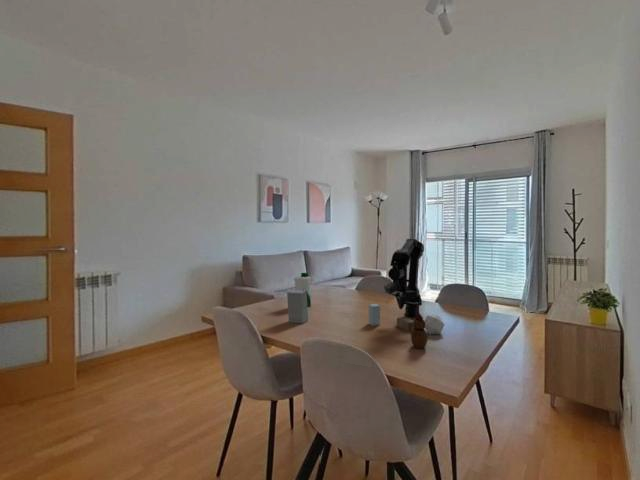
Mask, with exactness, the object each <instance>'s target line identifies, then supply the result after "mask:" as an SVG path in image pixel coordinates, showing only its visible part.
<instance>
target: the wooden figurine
mask: <svg viewBox="0 0 640 480" xmlns="http://www.w3.org/2000/svg"><path fill="white" fill-rule="evenodd" d="M413 321H414V322H413V326H414V328H413V329H412V331H410V332H411V333H410V338H411V344H412V346H413V347H415V348H416V349H424V348H426V346H427V343H428V332H427V330H426V329H425V319H424V318H423V316H422V314H420V310H419V311H418V313H417V309H416V315H415V317H414V320H413Z"/></svg>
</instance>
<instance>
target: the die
mask: <svg viewBox="0 0 640 480" xmlns="http://www.w3.org/2000/svg"><path fill="white" fill-rule="evenodd" d="M424 321H425V328H424V330H425V331H426V333H427V334H428V335H441V334H442V331H443V329H444V326H445V323H444V321H443V320H442V318H441V317H440V316H439V315H426V318H425V319H424Z"/></svg>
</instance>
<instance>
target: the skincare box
mask: <svg viewBox="0 0 640 480" xmlns="http://www.w3.org/2000/svg"><path fill="white" fill-rule="evenodd" d="M286 296H287V297H286V299H287V311H288V312H287V314H288V323H291V324H304V323H307V322H308V321H309V312H308V311H309V310H308V307H307V293H306V291H302V290H295V289H293V290H290V291H288V292H287V293H286Z"/></svg>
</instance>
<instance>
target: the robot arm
mask: <svg viewBox="0 0 640 480" xmlns="http://www.w3.org/2000/svg"><path fill="white" fill-rule="evenodd" d="M424 251H425V246H424V243H423V242H421V241H419V240H417V238H407V239H406V240H405V243H404V244H403V246H401V248H400V249H397V250H395V251H394V252H393V253H392V256H391V259H390V265H389V266H391V267H392V268H390V269H389V270H388V273H387V274H388V278H389V279H390V280H392V282H389V283H388V284H386V285H384V286H383V288H384V291H385V293H386V294H389V295H392V296H393V297H394V298H395V299H396V303H397V306H398V309H399V310H403V309H404V307H405V310H404V311H405V313H403V316H407V317H409V318H415V315H416V309H417V313H418V311H419V312H420V306H422V305H423V302H422V300H423V299H422V297H421V293H420V289H419V288H418V277H419V266H420V265H419V264H420V259H422V257H423V253H424ZM408 266H409V268H408ZM408 269H409V270H408ZM408 271H409V272H408Z"/></svg>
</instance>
